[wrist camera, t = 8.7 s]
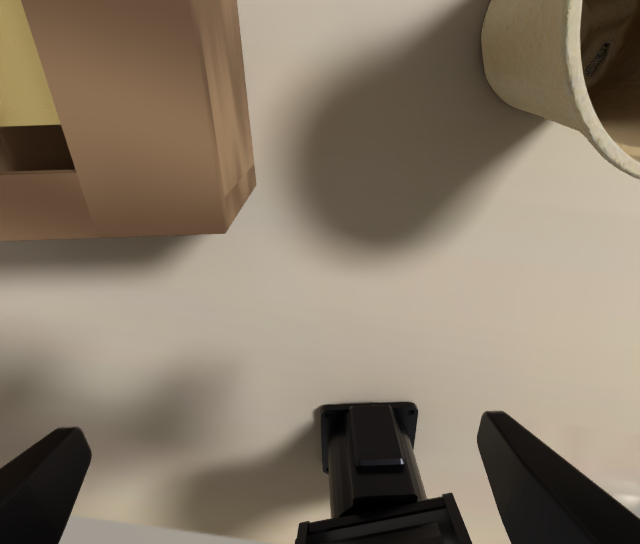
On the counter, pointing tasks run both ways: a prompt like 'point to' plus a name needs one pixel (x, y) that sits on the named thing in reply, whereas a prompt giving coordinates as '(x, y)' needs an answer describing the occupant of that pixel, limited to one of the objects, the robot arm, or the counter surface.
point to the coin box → (131, 123)
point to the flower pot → (571, 68)
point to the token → (22, 73)
